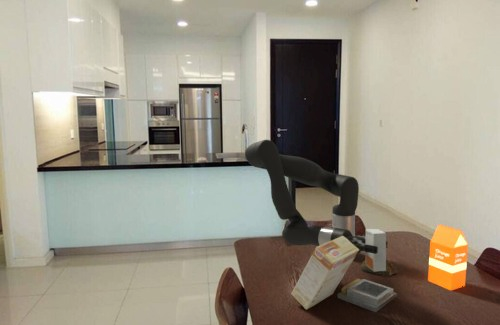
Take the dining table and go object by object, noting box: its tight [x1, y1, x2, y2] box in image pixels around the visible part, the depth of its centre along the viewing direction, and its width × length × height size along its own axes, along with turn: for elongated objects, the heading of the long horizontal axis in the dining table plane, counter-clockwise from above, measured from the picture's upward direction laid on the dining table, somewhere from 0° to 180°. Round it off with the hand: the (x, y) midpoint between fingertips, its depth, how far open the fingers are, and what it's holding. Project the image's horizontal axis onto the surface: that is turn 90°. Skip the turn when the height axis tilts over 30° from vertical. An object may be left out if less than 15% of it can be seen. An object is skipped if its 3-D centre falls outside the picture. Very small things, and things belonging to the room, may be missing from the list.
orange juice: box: [427, 224, 469, 291], centre depth 131 cm, size 8×9×20 cm
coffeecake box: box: [290, 236, 359, 311], centre depth 116 cm, size 15×7×20 cm, turn 135°
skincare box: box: [364, 228, 387, 272], centre depth 120 cm, size 6×4×12 cm
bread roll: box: [360, 259, 399, 277], centre depth 143 cm, size 13×12×5 cm
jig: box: [337, 277, 397, 313], centre depth 121 cm, size 14×13×3 cm
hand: (382, 247), depth 118 cm, fingers closed on skincare box, 7 cm apart
